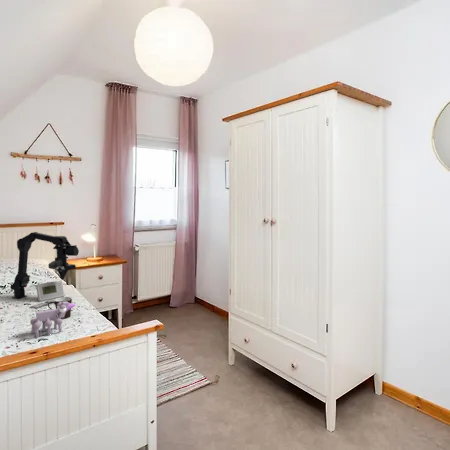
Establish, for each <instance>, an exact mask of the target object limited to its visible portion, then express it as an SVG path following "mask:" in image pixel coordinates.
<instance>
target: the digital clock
mask: <svg viewBox="0 0 450 450" xmlns="http://www.w3.org/2000/svg"><path fill="white" fill-rule="evenodd" d="M63 283H64V282H63V280H56V281H48V282H45V283H43V282H42V283H38V284H36V286H35V288H36V289H35V290H36V293H37V294H36V295H37V300H38V302H47V301H50V300H54V299H57V298H61V297H66V296H65V295H66V294H65V289H64V284H63Z"/></svg>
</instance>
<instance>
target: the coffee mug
mask: <svg viewBox="0 0 450 450" xmlns="http://www.w3.org/2000/svg"><path fill="white" fill-rule="evenodd" d="M53 300H54V299H53ZM54 301H55V302H50V303H53V304H54V306H55V309H57V304H58V303H59V302H66V301H67V302H68V303H72V304H73V302H72V301H73V298H72V297H71V296H64V297H59V298H56V299H55V300H54ZM50 303H47V304H48V305H47V306H48V308H49V310H51V309H52V307H51V306H50V305H51V304H50ZM58 314H59V313H58ZM58 314H57V315H58ZM71 314H72V308H71V309H70V310H68V311H67V312H66V313H65V316H64V317H63V318H61V319H62V320H65V319H69V318H71Z"/></svg>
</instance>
